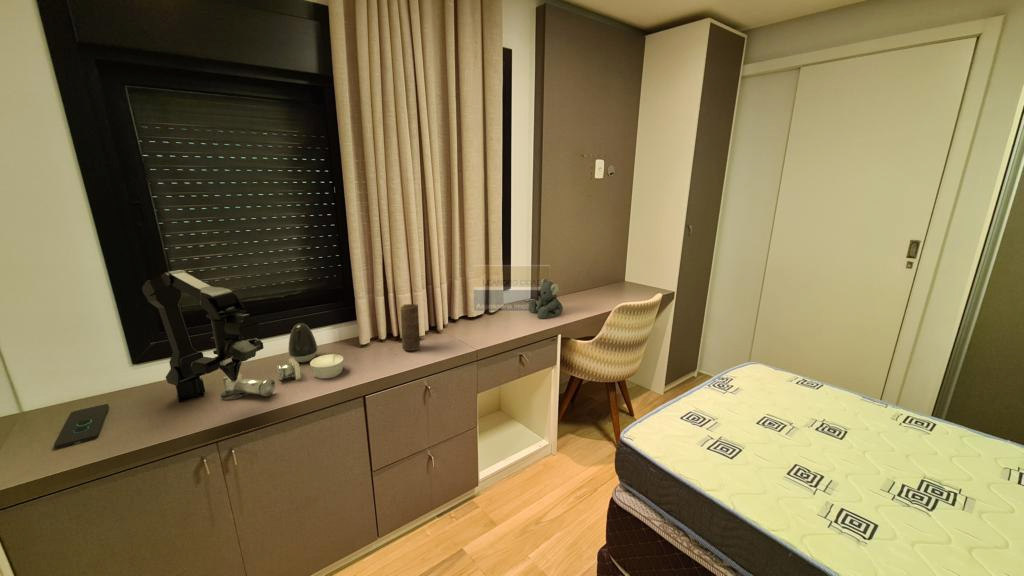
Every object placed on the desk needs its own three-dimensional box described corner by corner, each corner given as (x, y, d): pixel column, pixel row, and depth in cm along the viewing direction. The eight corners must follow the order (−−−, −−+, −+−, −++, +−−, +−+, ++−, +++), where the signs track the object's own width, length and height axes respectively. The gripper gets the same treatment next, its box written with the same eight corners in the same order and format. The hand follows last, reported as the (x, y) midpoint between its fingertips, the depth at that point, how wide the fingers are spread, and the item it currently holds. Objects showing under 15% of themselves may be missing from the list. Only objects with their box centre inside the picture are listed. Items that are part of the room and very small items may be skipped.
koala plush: (526, 310, 222) (527, 277, 217) (553, 307, 229) (555, 275, 224) (540, 320, 207) (541, 284, 202) (569, 316, 214) (571, 282, 209)
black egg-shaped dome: (286, 366, 149) (281, 329, 145) (293, 355, 159) (288, 320, 155) (315, 364, 152) (311, 327, 148) (320, 353, 162) (316, 318, 158)
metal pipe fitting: (223, 402, 124) (220, 385, 123) (219, 393, 130) (215, 376, 128) (301, 379, 140) (299, 364, 138) (294, 372, 145) (292, 357, 144)
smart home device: (51, 446, 101) (70, 411, 116) (53, 451, 101) (71, 416, 116) (97, 434, 106) (109, 402, 121) (99, 439, 106) (110, 407, 121)
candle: (415, 353, 163) (413, 308, 158) (399, 352, 164) (396, 307, 159) (423, 346, 170) (421, 303, 165) (407, 345, 171) (405, 301, 166)
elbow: (221, 395, 127) (218, 378, 125) (234, 387, 132) (231, 370, 131) (264, 399, 126) (261, 381, 124) (276, 391, 131) (273, 373, 129)
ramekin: (350, 371, 147) (349, 358, 145) (323, 383, 137) (321, 370, 136) (333, 364, 152) (332, 351, 151) (305, 375, 143) (303, 361, 142)
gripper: (217, 348, 103) (226, 400, 107) (274, 325, 121) (280, 370, 125) (184, 343, 106) (195, 394, 110) (245, 321, 124) (252, 366, 128)
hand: (234, 380), depth 118 cm, fingers closed
